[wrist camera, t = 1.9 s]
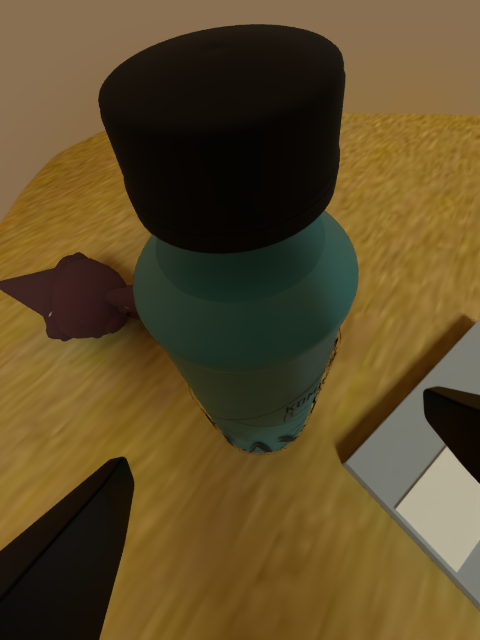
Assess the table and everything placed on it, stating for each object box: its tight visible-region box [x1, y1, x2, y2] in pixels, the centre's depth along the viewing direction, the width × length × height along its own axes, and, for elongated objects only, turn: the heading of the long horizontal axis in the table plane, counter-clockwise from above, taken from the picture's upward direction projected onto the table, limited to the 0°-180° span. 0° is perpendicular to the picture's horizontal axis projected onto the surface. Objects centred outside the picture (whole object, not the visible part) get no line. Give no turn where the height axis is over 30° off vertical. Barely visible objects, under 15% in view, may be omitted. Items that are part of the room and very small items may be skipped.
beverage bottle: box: [98, 24, 359, 455], centre depth 13 cm, size 6×7×20 cm
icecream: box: [0, 252, 141, 341], centre depth 24 cm, size 7×7×15 cm
